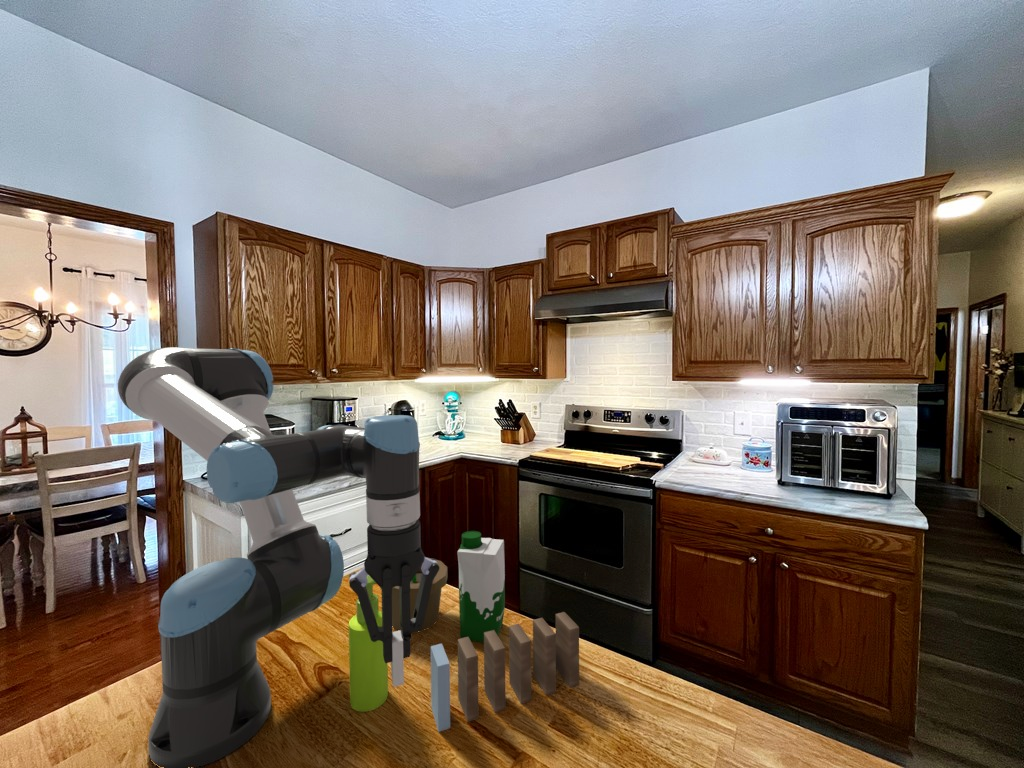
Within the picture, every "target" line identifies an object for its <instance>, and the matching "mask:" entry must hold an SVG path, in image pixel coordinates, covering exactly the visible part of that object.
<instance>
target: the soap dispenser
mask: <svg viewBox="0 0 1024 768" xmlns="http://www.w3.org/2000/svg"><path fill="white" fill-rule="evenodd" d="M374 585H378V584H377V583H376V582H375V581H374V580H373V579H372V578H371V577H370V576H369V575H367V585H366V588H367V592H368V595H369V598H370V602H371V605H372V608H373V612H374V615H375V618H376V622H377V625H378V626H380V627H382V610H379V609H380V607H379V595H378V594H376V593H374V591H373V590H374V589H373V587H374ZM348 655H349V656H348V659H349V663H348V664H349V698H350V699H349V703H350V706H351V708H352V709H353V710H355V711H357V712H371V711H373V710H376V709H378V708H380V707H381V706H382V705H383V704H384V703H385V702H386V700H387V698H388V696H389V684H388V683H389V679H388V677H389V676H388V675H389V673H388V663H385V661H384V657H383V642H382V641H380V640H378V641H376V642H373V641H371V639H370V635H369V632H368V629H367V625H366V622H365V619H364V615H363V612H362V609H361V605H360V602H359V599H358V598H356V614H355V615H353V616H352V617H351V618H350V619H349V621H348Z"/></svg>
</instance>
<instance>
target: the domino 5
mask: <svg viewBox="0 0 1024 768" xmlns="http://www.w3.org/2000/svg"><path fill="white" fill-rule="evenodd" d="M556 672H557V670H556V631H554V630H553V629H552V628H551V626H550V625H549V623H547V621H546V620H545V619H544V618H543V617H539V618H536V619H535V618H534V619H532V676H533V677H534V679H535V681H536V682H537V684H538V685H539V687H540V688H541V690H542V692H543V693H544V695H545V696H550V695H553V694H555V693H557V688H556V687H557V679H556V678H557V675H556V674H557V673H556Z"/></svg>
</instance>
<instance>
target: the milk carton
mask: <svg viewBox="0 0 1024 768" xmlns="http://www.w3.org/2000/svg"><path fill="white" fill-rule="evenodd" d="M456 552H457V553H456V554H457V561H458V563H457V564H458V597H459V599H458V602H459V609H458V611H459V635H460V636H459V639H461V638H465V637H469V639H470V641H471V642H481V643H484V632H488V631H492V630H494V631H495V632H496V634H497V635H498V636H499V633H500V631H501V628H502V626H503V623H504V616H505V607H506V606H505V605H506V589H505V588H506V586H505V585H506V583H505V582H506V581H505V580H506V579H505V578H506V577H505V576H506V574H505V573H506V571H505V570H506V569H505V567H506V566H505V540H504V539H500V538H499V539H497V538H496V539H495V538H491V537H482V533H481V532H480V531H476V530H469V531H465V532H463V533H462V534H461V544H460V547H459V548H458V550H457V551H456Z"/></svg>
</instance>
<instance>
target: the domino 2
mask: <svg viewBox="0 0 1024 768" xmlns="http://www.w3.org/2000/svg"><path fill="white" fill-rule="evenodd" d="M457 679H458V682H457V685H458V690H457V691H458V694H457V695H458V696H457V697H458V702H459V704H460V707H461V709H462V713H463V715H464V717H465V720H466V723H469V722H472V721H474V720H476V721H477V720H478V719H479V655H478V653H477V651H476V649H475V647H474V645H473V643H472V641H470V639H469V637H465V638H461V639H460V638H458V639H457Z"/></svg>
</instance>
